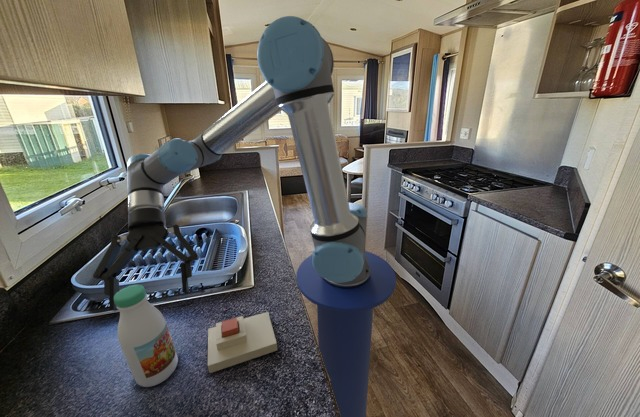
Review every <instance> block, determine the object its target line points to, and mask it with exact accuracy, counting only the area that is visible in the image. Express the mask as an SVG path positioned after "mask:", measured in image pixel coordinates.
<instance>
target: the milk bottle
mask: <svg viewBox="0 0 640 417" xmlns="http://www.w3.org/2000/svg"><path fill="white" fill-rule="evenodd" d="M147 298H148V294H147V292H146V289H145V287H144V285H142V284H131V285H127V286H125V287H122V288H121V289H119V291H118V292H117V293H116V294H115V296H114V302H115V304H116V306H117V309H118V310H117V311H119V320H118V323H117V330H116V331H117V340H118V343H119V345H120V348H121V351H122V353H123V356H124V358H125V361H126V363H127V366H128V367H129V370H130V372H131V375H132V377H133V379H134V381H135V383H136V384H137V385H138V386H140V387H143V388H149V387H154V386H157V385H159V384H161V383H163V382H164V381H166V380H167V379H169V377H170V376H172V374H173V373H174V372H175V370H176V368H177V366H178V362H179V358H178V353H177V350H176V347H175V345H174V341H173V339H172V335H171V333H170V330H169V327H168V323H167V321H166V318H165V316H164V315H163V313H162V312H161V311H160V310H159V309H158V308H157V307H156V306H154V305H153V304H151V303H150V302H149V301H148V299H147Z"/></svg>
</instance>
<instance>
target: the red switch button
mask: <svg viewBox="0 0 640 417" xmlns="http://www.w3.org/2000/svg"><path fill="white" fill-rule="evenodd" d="M221 322H222V334H223V338H225V337H228V336H231V335H235V334H238V333H239V332H238V323H237V317H233V318H230V319H226V320H222V321H221Z"/></svg>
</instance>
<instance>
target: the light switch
mask: <svg viewBox="0 0 640 417" xmlns="http://www.w3.org/2000/svg"><path fill="white" fill-rule="evenodd" d="M236 318H237V323H238V332H239V333H238V334H235V335H231V336H228V337H225V338H223V334H222V321H220V322H216V323H215V326H212V327H209V328H208V329H207V369H208V373H209V374H212V373H215V372H218V371H221V370H223V369H226V368H230V367H233V366H236V365H239V364H242V363H245V362H247V361H251V360H253V359H257V358H259V357H262V356H265V355H269V354H270V353H273V352H276V351H278V343H277V339H276V335H275V332H274V328H273V324H272V320H271V318H270V313H269V311H265V312H262V313H259V314H258V313H257V314H255V315H251V316H248V317H245V318H244V315H241V316H237V317H236Z"/></svg>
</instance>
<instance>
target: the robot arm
mask: <svg viewBox="0 0 640 417" xmlns="http://www.w3.org/2000/svg"><path fill="white" fill-rule="evenodd" d="M256 51H257V52H256V55H257V56H256V58H257V65H258V69H259V71H260V74H261V76H262V77H263V79H264V80H265V81H264V82H263V83H262V84H260V85H259V86H258V87H257V88H255V89H254V90H253V91H252V92H251V93H250V94H248V95H246V97H244V98H243V99H242V100H241V101H240V102H238V103H237V104H236V105H235V106H233V107H232V108H231V109H230V110H228V111H227V112H226V113H224V114H223V115H222V116H221V117H220V118H218V120H216V121H215V122H214V123H212V124H211V125H210V126H209V127H208V128H207V129H205V130H204V131H203V132H202V133H200V134H199V135H198V136H197V137H196V138H194V139H192V140H186V139H182V138H179V137H176V138H172V139H170V140H169V141H167V142H164V143H163V144H161V146H160V147H159V148H157V149H156V150H154V152H152V153H151V154H148V153H138V154H137V155H136V154H133V155H132V156H130V157H129V158H128V160H127V166H126V173H125V174H126V186H127V213H128V215H127V221H128V222H127V226H128V232H127V234H125V235H118V234H117V233H116V234H113V235H111V239H110V244H109V246H108V248H107V250H106V251H105V253H104V255H103V257H102V258H101V260H100V262H99V264H98V266H96V269H95V271H94V273H93V274H92V278H94V279H97V280H100V281H103V290H104V291H103V293H104V295H105V296H107V297H108V298H109V300H108V304H109V306H108V307H109V308H108V309H109V310H108V311H113V312H116V311H119V310H118V309H117V306H116V304H115V302H114V296H115V294H116V293H117V292H118V291H120V279H118V278H117V277H118V276H119V274H120V273H121V272H122V271H123V269H124V268H126V266H127V265H128V263H129V262H131V260H132V259H133V258H134V257H135V256H136V255H137V254H138V253H139V252H146V251H149V250H158V249H159V248H160V247H163V248H164V249H165V250H167V251H168V252H170V253H171V254H172V255H173V256H175V257H176V258H177V259H179V260H180V261H182V263H180V264H179V265H180V276H181V286H182V293H183V294H189V293H190V289H189V278H192V277H193V270H192V269H193V267H192V264H193V263H194V262H195V261H199V258H200V257H199V255H198V253H197V251H195V249H194V248H193V246H192V245H191V244H190V243H189V242H188V240H187V239H186V238H185V237H184V235H183V233H182V229H181V227H180V226H179V225H178V224H174V225H173V226H172V227H169V228H167V225H166V224H167V222H166V213H165V198H164V186H165V185H167V184H168V183H171V182H172V181H173V180H175V179H176V178H178V177H179V176H182V175H183V174H186V173H190V172H192V171H195V170H197V169H199V168H202V167H205V166H207V165H212V164H214V163H216V162H218V161H219V160H220V159H221V158H222V156H223V154H225V153H226V152H227V151H228V150H230V149H232V147H234V146H236V145H237V144H238V143H240V142H241V141H242V140H244V139H245V138H246V137H248V136H249V135H250V134H252V133H253V132H254V131H256V130H257V129H258V128H260V127H261V126H263V125H264V124H266V122H268V121H270V120H271V119H272V118H273V117H275V116H276V115H277V114H279V113H280V112H283V113H285V114H286V115H287V118H288V121H289V126H290V129H291V133H292V137H293V142H294V145H295V150H296V153H297V157H298V161H299V165H300V169H301V173H302V178H303V181H304V185H305V189H306V193H307V196H308V201H309V205H310V209H311V213H312V216H313V221H312V224H311V225H310V227H309V230H310V235H311V239H312V243H313V248H314V250H313V252H312V255H313V256H312V264H313V267H314V269H315V271H316V272H317V273H318V274H319V275H320V276H321V277H322V278H323V280H324V281H325V282H326V283H328V284H329V285H331V286H334V287H337V288H342V289H351V288H357V287H360V286H362V285H364V284H365V283H366V282H367V281H368V280H369V277H370V267H369V264H368V261H367V258H366V255H365V251H366V240H367V239H366V237H367V218H368V210H367V208H366V207H365V206H364V205H362V204H360V203H354V202H349V198H348V193H347V188H346V183H345V179H344V173H343V168H342V163H341V158H340V153H339V148H338V143H337V137H336V133H335V128H334V123H333V120H332V113H331V109H330V103H331V101H332V99H333V98H334V96H335V90H334V89H335V88H334V83H333V78H332V75H333V72H334V67H335V61H334V60H335V59H334V54H333V52H332V49H331V46H330V45H329V44H328V42H327V41H326V40H325V39H324V38H323V37H322V36H321V33H320V32H319V30H318V29H317V28H316V26H314V25H313V24H312V23H311V22H310V21H307V20H306V19H304V18H301V17H299V16H295V15H286V16H282V17H278V18H277V19H275V20H273V21H272V22H270V23H269V25H267V26H266V28H265V29H264V31H263V32H262V34H261V37H260V39H259V41H258V45H257V50H256ZM169 234H170V235H171V236H172V237H175V238H177V240H178V241H179V242H180V243H181V245H182V246H183V248H185V250H186V252H188V254H189V256H187V255H185V254H184V253H183V252H181V251H180V250H179V249H177V248H176V247H175V246H174V245H172V244H171V243H170V242H168V241H167V240H166V239H167V237H168V236H169ZM126 242H129V244H128V245H127V246H126V247H125V250H124V251H123V252H122V254H120V256H118V255H119V253H120V252H121V249H122V246H124V245H125V243H126ZM117 257H118V258H117Z"/></svg>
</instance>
